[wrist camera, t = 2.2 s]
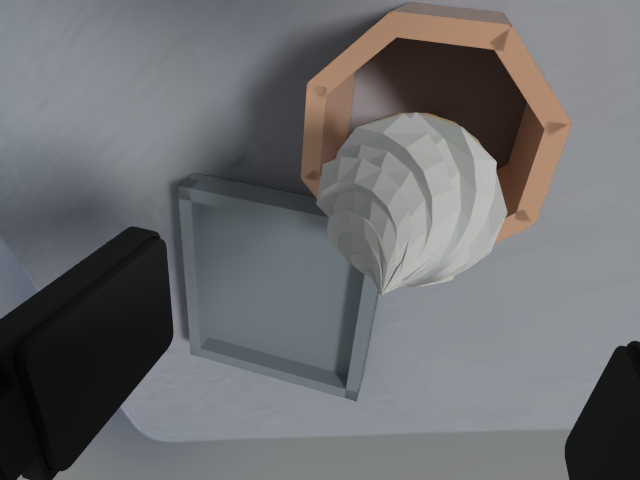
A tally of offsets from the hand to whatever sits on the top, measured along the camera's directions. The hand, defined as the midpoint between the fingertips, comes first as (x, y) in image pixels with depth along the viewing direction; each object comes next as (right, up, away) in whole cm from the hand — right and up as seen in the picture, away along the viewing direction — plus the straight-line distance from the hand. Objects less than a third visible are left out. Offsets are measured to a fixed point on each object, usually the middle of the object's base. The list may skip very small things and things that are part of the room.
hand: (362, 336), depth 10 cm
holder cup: (+5, +8, +13) cm, 16 cm away
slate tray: (-3, -1, +20) cm, 21 cm away
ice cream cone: (+5, +8, +13) cm, 16 cm away
